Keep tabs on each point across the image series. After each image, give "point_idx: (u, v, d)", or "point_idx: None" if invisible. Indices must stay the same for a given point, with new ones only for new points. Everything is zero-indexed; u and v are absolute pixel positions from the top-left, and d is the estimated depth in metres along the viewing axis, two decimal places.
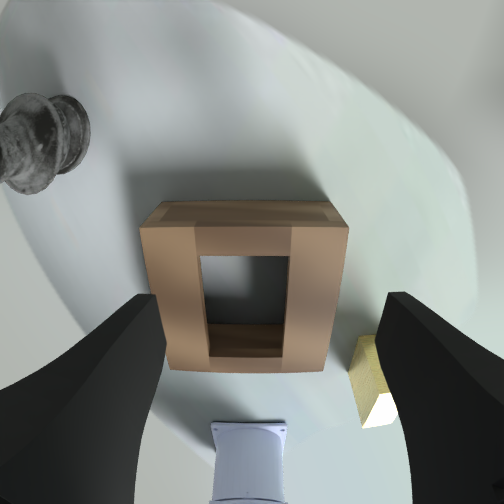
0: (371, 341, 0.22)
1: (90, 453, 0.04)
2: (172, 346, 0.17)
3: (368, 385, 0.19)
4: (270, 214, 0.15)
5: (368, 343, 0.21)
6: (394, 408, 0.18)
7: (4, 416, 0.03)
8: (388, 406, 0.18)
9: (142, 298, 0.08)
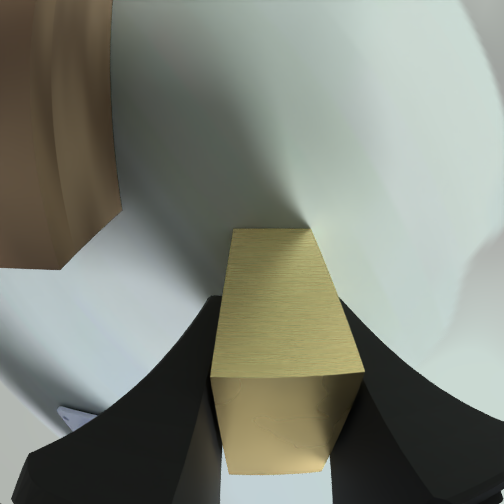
0: (260, 238, 0.09)
1: (205, 474, 0.04)
2: None
3: None
4: None
5: (250, 241, 0.09)
6: (312, 437, 0.05)
7: (119, 455, 0.03)
8: (280, 429, 0.05)
9: (220, 300, 0.08)
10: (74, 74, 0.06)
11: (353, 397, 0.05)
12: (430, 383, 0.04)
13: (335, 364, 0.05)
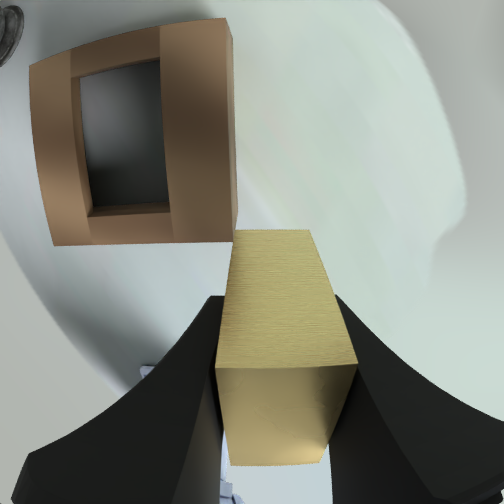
0: (261, 239, 0.10)
1: (204, 474, 0.04)
2: (51, 206, 0.13)
3: None
4: None
5: (251, 241, 0.09)
6: (309, 427, 0.06)
7: (118, 455, 0.03)
8: (279, 419, 0.06)
9: (220, 300, 0.08)
10: (232, 138, 0.14)
11: (347, 388, 0.05)
12: (430, 383, 0.04)
13: (330, 356, 0.05)
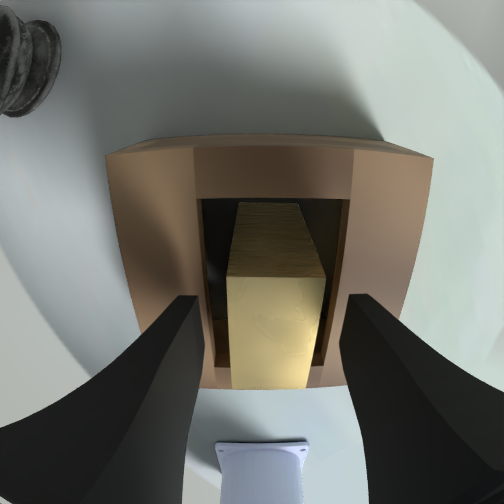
0: (259, 208, 0.12)
1: (152, 467, 0.04)
2: None
3: None
4: (312, 141, 0.09)
5: (251, 209, 0.12)
6: (295, 341, 0.09)
7: (61, 439, 0.03)
8: (271, 330, 0.08)
9: (185, 299, 0.08)
10: None
11: (321, 302, 0.08)
12: (468, 374, 0.04)
13: (306, 273, 0.08)
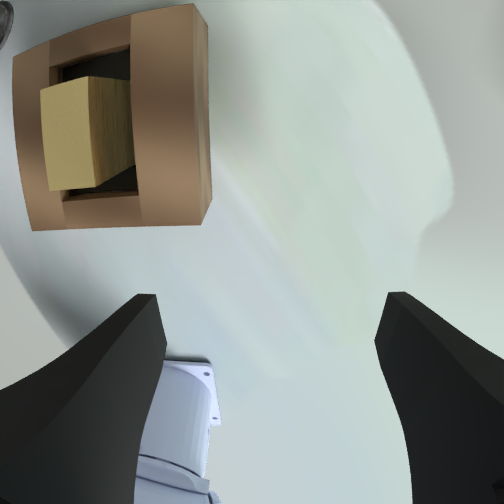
0: None
1: (90, 453, 0.04)
2: (30, 191, 0.13)
3: None
4: None
5: None
6: (77, 132, 0.10)
7: (4, 416, 0.03)
8: (62, 123, 0.09)
9: (142, 298, 0.08)
10: (202, 122, 0.13)
11: (89, 96, 0.09)
12: None
13: None
